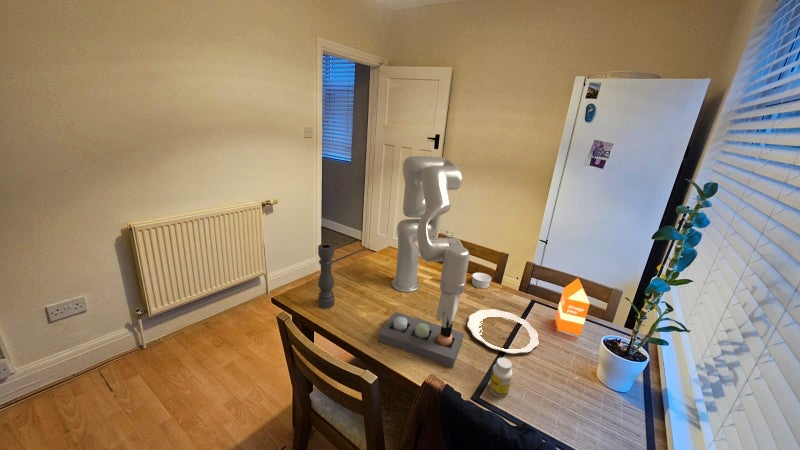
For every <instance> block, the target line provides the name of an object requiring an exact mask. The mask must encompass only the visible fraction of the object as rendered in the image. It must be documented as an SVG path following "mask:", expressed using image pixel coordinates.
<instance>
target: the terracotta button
mask: <svg viewBox="0 0 800 450" xmlns="http://www.w3.org/2000/svg"><path fill="white" fill-rule="evenodd" d="M440 333H441V331H439V332H438V337H437V343H438V345H441V346H444V347H450V346H451V344H452V337H453V335H452V333H451V335H450V337H446V336H443V335H441V334H440Z"/></svg>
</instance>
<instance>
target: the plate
mask: <svg viewBox="0 0 800 450" xmlns="http://www.w3.org/2000/svg"><path fill="white" fill-rule="evenodd" d="M487 317H503V318H507V319H511V320H514V321H516V322H518V323H520V324H522V325H523V326H524V327H525V328H526V329H527V331H528V333H529V336H530V338H531V339H530V343H529V344H528V345H527V346H526V347H524V348H521V349H504V348H500V347H497V346H494V345H492V344H490V343H488V342H486V341H485V340H484V339H483V338H482V337H481V336H480V335H482V332H483V330H482V327H481V328H479V326H481V325H482V324H481V323H483V322H481V321H483V319H485V318H487ZM480 322H481V323H480ZM466 325H467V329H468V330H469V331H470V332H471V334H472V337H473V338H474V339H475V340H477V341H479V342H481V343H482V344H484V345H485V346H487V348H490V349H491V350H492V349H493V350H495V351H500V352H502V353H503V352H504V353H506V354H511V355H515V354H520V353H521V354H527V353H528V354H529V353H531V352H532V351H533V349H534V348H536V347H538V346H539V342H540V340H539V339H538V337H539V334H538V332H537V330H536V329H534V328H533V327H532V326H531V324H530V322H528V321H527V320H525V319H524V318H521V317H519V316H517V315H516V314H514V313H511V312H509V311H504V310H503V311H502V310H500V309H494V308H492V309H491V308H489V309H480V310H476V312H474V313H471V314H470V315H469V316H468V321H467V323H466ZM480 330H482V332H481V333H479V332H480Z"/></svg>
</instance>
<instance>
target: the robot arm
mask: <svg viewBox="0 0 800 450" xmlns="http://www.w3.org/2000/svg"><path fill="white" fill-rule="evenodd" d="M402 173H403V175H402V176H403V180H404V192H403V193H404V194H403V203H402V213H403V214H404V216H405V217H407V218H405V219H402V220H400V221H399V222H398V223H397V226H396V227H397V228H396V230H397V231H396V233H397V254H396V255H397V257H396V258H397V259H396V270H395V278H394V279H393V280H392V281H391V286H392V287H393V289H395V291H400V292H401V293H403V292H404V293H411V292H416V291H418V289H419V288H420V282H419V281H418V280H417V279H418V277H417V276H418V270H419V268H418V267H419V260H420V259H419V258H421V259H422V261H424V262H428V263H433V262H435V263H436V262H442V268H441V275H440V283H439V285H440V286H439V290H440V291H441V292H440V298H439V301H438V308H437V312H436V313H437V314H436V320H437V321H441V325H440V326H441V333H440V334H441V335H443V336H446V337H450V335H451V332H452V329H453V323H454V321H453V320H454V319H455V316H456V315H457V312H458V309H459V304H460V298H461V295H463V294H464V292H465V287H466V279H467V274H468V267H469V261H470V251H469V250H468V249H467V248H466V247H464V245H463V243H462V241H461V240H460V239H459V238H457V237H437V234H438V229H439V224H440V217H441V216H442V215H444V214H446V213H447V212H449V211H450V210H451V208H452V203H451V198H450V193H449V191H457V190H458V189H460V188H461V186H462V183H463V175H462V171H461V170H460V168H459V166H457V165H456V164H455V163H454V162H453V161H452V160H450V159H448V158H446V157H443V156H442V157H441V156H440V157H439V156H422V155H415V156H413V155H412V156H409V157H406V158H405V159H404V161H403V164H402ZM416 242H417V243H416ZM419 255H420V256H419Z"/></svg>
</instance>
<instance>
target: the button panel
mask: <svg viewBox="0 0 800 450" xmlns="http://www.w3.org/2000/svg"><path fill="white" fill-rule="evenodd" d="M396 317H404V318H406V319H407V330H406V331H405V332H399V331H396V330H394V329H393V323H394V318H396ZM419 323H424V324H426V325H428V326H429V336H428V338H427V339H424V340H423V339H420V338H417V337H415V326H416V325H417V324H419ZM441 326H442V325H440V324H437V323H433V322H429V321H427V320H423V319H419V318H416V317H413V316H412V315H411V316H410V315H407V314H404V313H400V312H397V311H394V313H393V314H392V315H391V316H390V317H389V319H388V320H387V322H386V323H385V324H384V325H383V326H382V328H381V329H380V330H379V331H378V334H377V335H378V336H377V342H378V343H380V344H384V345H386V346H389V347H391V348H394V349H397V350H400V351H403V352H406V353H408V354H411V355H415V356H417V357H420V358H422V359H425V360H428V361H432V362H434V363H437V364H440V365H443V366H445V367H449V368H451V369H453V368H454V366H455V363H456V360H457V357H458V354H459V352H460V350H461V347H462V344H463V340H464V335H465V334H464V332H462V331H459V330H456V329H453V328H452V332H451V333H452V335H453V337H452V344H451V346H450V347H444V346H441V345H438V343H437V337H438V332H439V331H441Z"/></svg>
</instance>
